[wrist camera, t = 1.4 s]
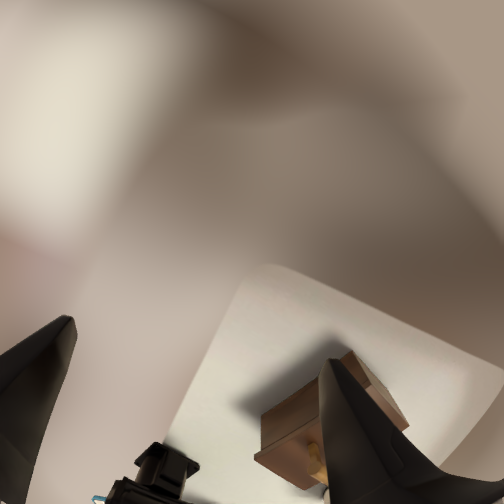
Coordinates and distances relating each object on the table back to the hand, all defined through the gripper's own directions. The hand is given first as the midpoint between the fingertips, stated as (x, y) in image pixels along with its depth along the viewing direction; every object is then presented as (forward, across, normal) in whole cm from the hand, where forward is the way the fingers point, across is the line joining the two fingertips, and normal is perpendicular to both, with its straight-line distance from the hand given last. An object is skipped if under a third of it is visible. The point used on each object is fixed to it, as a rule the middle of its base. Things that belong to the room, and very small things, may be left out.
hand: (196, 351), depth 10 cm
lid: (+5, -13, +17) cm, 21 cm away
